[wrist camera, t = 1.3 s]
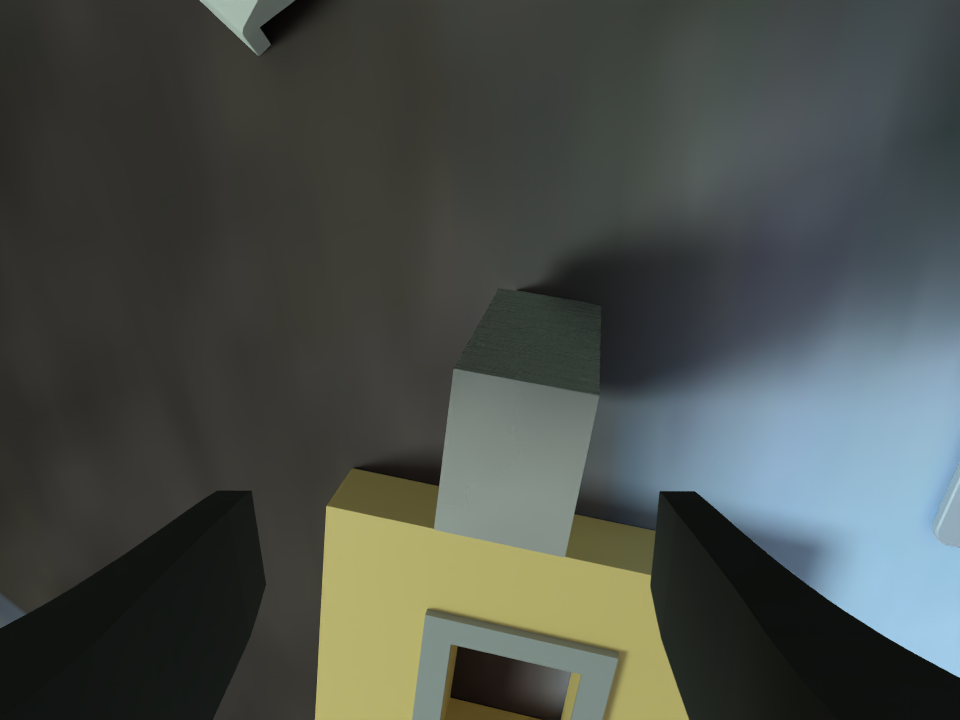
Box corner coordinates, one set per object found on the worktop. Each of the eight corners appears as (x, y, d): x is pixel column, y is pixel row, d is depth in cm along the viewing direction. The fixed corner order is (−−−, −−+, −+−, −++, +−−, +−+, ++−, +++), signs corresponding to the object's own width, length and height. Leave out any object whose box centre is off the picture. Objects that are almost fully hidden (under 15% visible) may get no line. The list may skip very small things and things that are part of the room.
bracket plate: (747, 549, 24) (764, 605, 21) (655, 825, 29) (660, 897, 26) (352, 468, 25) (322, 510, 22) (333, 743, 30) (308, 803, 28)
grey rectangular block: (601, 291, 21) (599, 395, 14) (578, 408, 23) (564, 557, 15) (505, 275, 22) (453, 368, 14) (488, 391, 23) (433, 529, 16)
